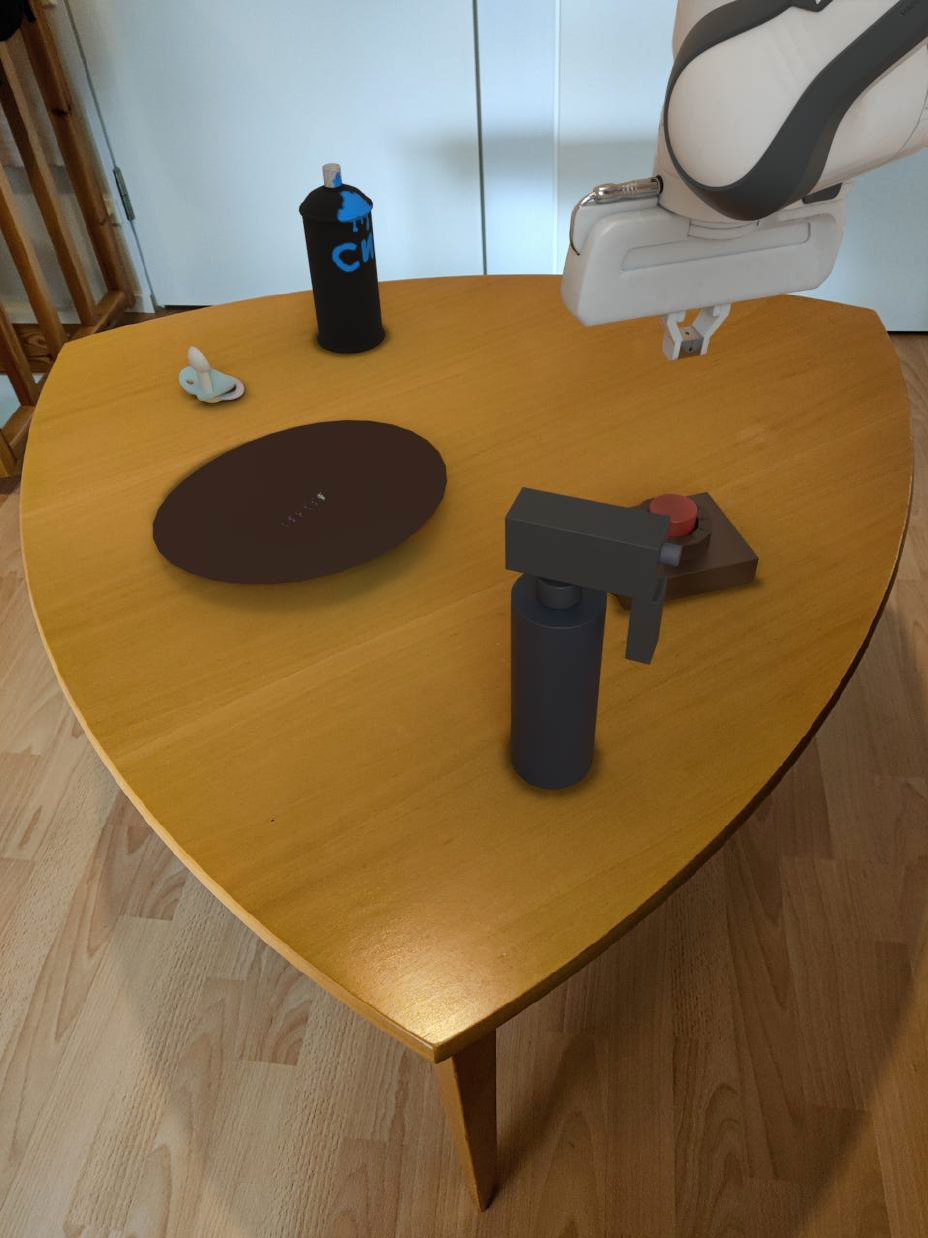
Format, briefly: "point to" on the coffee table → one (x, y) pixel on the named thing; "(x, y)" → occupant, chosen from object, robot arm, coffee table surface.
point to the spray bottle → (569, 619)
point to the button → (676, 513)
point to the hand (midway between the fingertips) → (683, 354)
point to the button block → (706, 554)
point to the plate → (302, 503)
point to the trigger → (645, 626)
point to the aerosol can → (342, 264)
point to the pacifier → (208, 380)
